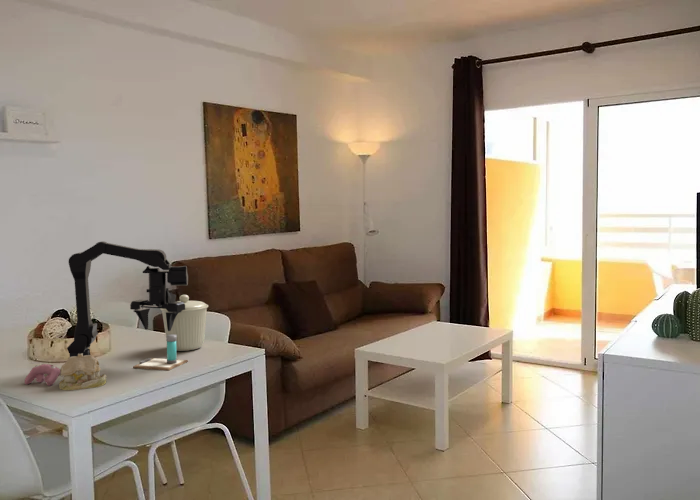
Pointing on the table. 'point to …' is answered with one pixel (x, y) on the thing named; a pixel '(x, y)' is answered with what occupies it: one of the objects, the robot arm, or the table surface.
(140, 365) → the clipboard
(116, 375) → the table surface
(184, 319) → the canister
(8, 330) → the table surface
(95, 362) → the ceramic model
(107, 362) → the table surface
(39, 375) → the pink lumpy arch
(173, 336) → the marker
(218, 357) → the table surface
